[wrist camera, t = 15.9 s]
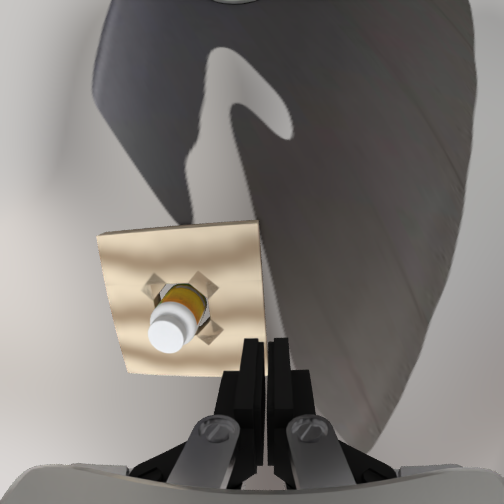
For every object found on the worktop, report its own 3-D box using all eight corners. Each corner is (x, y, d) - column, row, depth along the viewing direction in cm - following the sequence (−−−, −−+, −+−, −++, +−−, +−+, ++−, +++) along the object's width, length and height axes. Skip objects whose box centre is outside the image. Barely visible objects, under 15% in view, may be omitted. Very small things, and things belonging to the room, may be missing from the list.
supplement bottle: (170, 276, 41) (143, 307, 31) (211, 287, 41) (194, 322, 31) (164, 313, 42) (138, 350, 33) (203, 324, 42) (186, 365, 33)
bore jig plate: (105, 232, 40) (96, 236, 37) (258, 219, 38) (257, 223, 36) (134, 363, 44) (128, 372, 42) (268, 365, 43) (268, 375, 41)
